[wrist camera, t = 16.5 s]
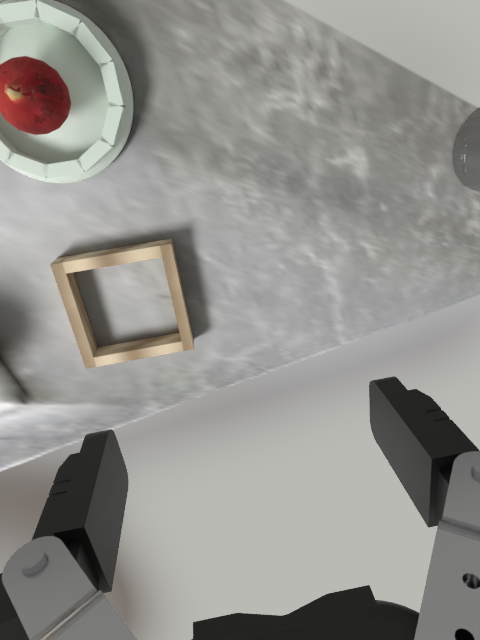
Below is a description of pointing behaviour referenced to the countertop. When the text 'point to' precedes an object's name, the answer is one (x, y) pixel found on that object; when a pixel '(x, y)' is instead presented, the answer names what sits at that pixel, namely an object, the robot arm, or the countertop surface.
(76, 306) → the holder
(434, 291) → the countertop surface
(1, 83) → the onion
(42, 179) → the dish
